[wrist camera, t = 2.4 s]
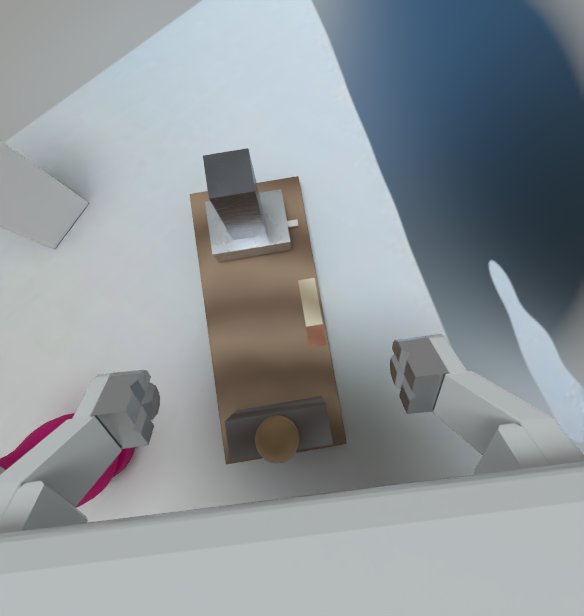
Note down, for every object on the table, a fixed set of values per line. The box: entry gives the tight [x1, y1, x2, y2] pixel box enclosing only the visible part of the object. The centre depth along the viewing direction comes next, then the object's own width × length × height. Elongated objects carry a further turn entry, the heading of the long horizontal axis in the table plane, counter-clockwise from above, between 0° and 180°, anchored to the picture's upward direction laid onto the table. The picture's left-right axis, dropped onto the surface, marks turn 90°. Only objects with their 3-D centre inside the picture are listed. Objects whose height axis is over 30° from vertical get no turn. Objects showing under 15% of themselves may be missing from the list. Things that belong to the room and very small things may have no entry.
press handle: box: [203, 149, 298, 262], centre depth 26 cm, size 5×8×10 cm, turn 100°
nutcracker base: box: [190, 176, 347, 464], centre depth 28 cm, size 26×11×9 cm, turn 9°
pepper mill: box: [0, 414, 134, 508], centre depth 21 cm, size 7×7×20 cm
